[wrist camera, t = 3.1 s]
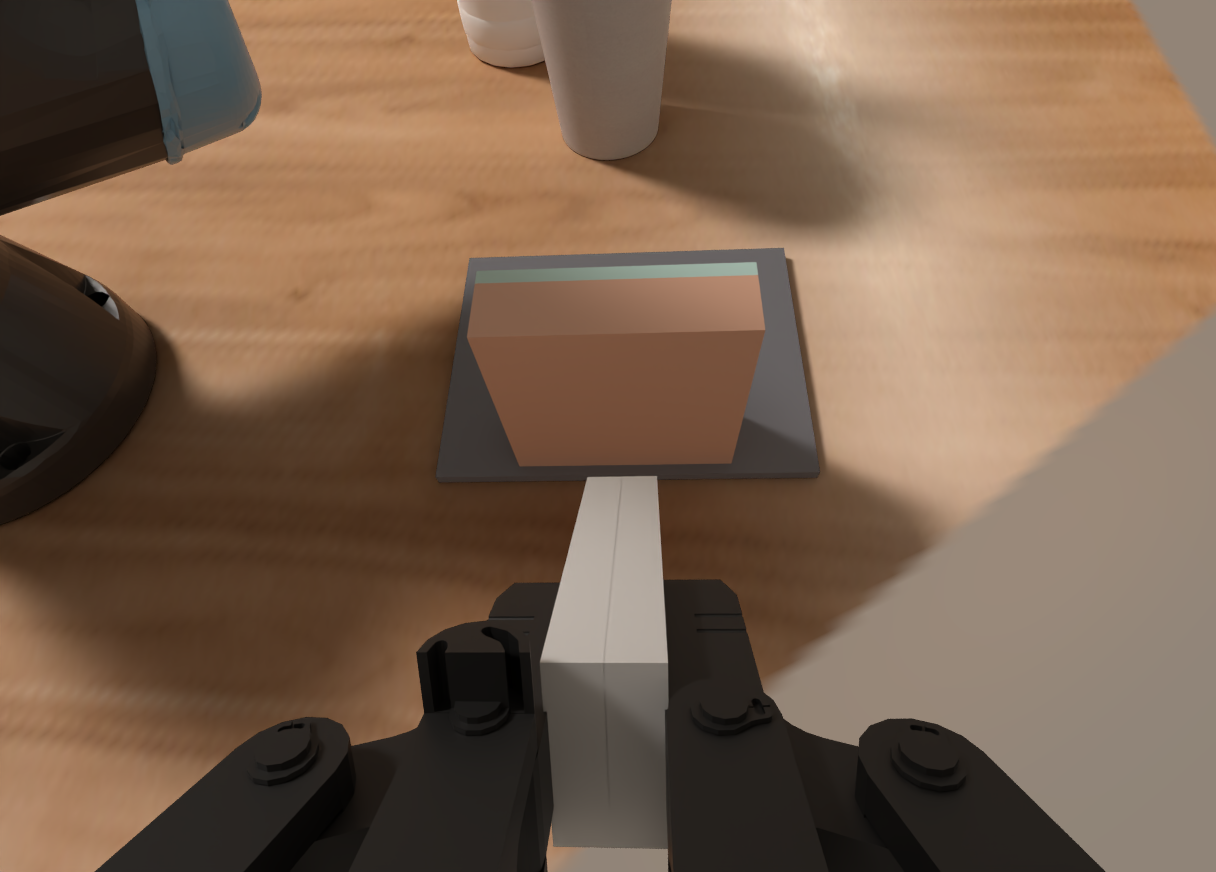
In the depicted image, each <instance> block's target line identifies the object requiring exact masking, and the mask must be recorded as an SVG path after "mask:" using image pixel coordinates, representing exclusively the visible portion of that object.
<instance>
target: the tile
mask: <svg viewBox="0 0 1216 872" xmlns="http://www.w3.org/2000/svg"><path fill="white" fill-rule="evenodd" d="M764 333H765V323H764V316H763V308H762V301H761V293H760V285H759V278H758V270H757V263H756V262H744V263H712V264H680V265H648V266H616V267H585V268H553V269H521V270H489V271H477V272H476V279H475V286H474V293H473V299H472V306H471V313H470V320H469V327H468V333H467V339H468V342H469V344H470V346H471V349H472V351H473V354H474V356H475V359H476V361H477V364H478V366H479V369H480V371H481V373H482V376H483V378H484V381H485V383H486V386H487V388H488V391H489V393H490V395H491V398H492V400H493V403H494V405H495V408H496V410H497V413H498V415H499V417H500V420H501V422H502V425H503V427H504V430H505V432H506V435H507V437H508V440H509V442H510V444H511V447H512V449H513V452H514V454H515V457H516V459H517V462H518V464H519V466H590V465H662V464H731V463H732V459H733V455H734V451H735V448H736V444H737V440H738V436H739V432H740V428H741V424H742V420H743V416H744V412H745V408H746V404H747V400H748V396H749V392H750V389H751V385H752V381H753V377H754V373H755V369H756V365H757V361H758V357H759V353H760V349H761V345H762V341H763V337H764Z"/></svg>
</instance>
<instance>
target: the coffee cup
mask: <svg viewBox="0 0 1216 872" xmlns="http://www.w3.org/2000/svg"><path fill="white" fill-rule="evenodd" d="M531 1H532V5H533V10H534V14H535V18H536V23H537V27H538V31H539V36H540V40H541V44H542V49H543V53H544V57H545V62H546V66H547V70H548V75H549V79H550V83H551V88H552V92H553V97H554V101H555V105H556V110H557V114H558V118H559V123H560V127H561V132H562V136H563V139H564V141H565V143H566V144H567V145H568V146H569V147H570V148H571V149H572V150H573V151H575V152H576V153H578V154H580V155H582V156H585V157H588V158H592V159H598V160H615V159H621V158H625V157H629V156H632V155H634V154H636V153H638V152H640V151H642V150H643V149H645V148H646V147H647V146H648V145H650V143H651V142H652V141H653V140H654V138H655V137H656V134H657V132H658V125H659V116H660V106H661V97H662V87H663V77H664V68H665V58H666V49H667V39H668V30H669V20H670V11H671V1H672V0H531Z"/></svg>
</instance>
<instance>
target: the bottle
mask: <svg viewBox="0 0 1216 872" xmlns="http://www.w3.org/2000/svg"><path fill="white" fill-rule="evenodd" d="M457 2H458V7H459V11H460V15H461V19H462V23H463V27H464V30H465V33H466V34H467V38H468V42H469V46H470V50H471V52H472V53H473V54H475V55H476V56H477V57H478V58H479V59H480V60H482V61H484V62H487V63H489V64H492V65H494V66H500V67H509V68H514V67H524V66H530V65H533V64H537V63H540V62H543V61H545V57H544V53H543V49H542V44H541V40H540V36H539V31H538V27H537V23H536V18H535V14H534V10H533V5H532V1H531V0H457Z"/></svg>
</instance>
